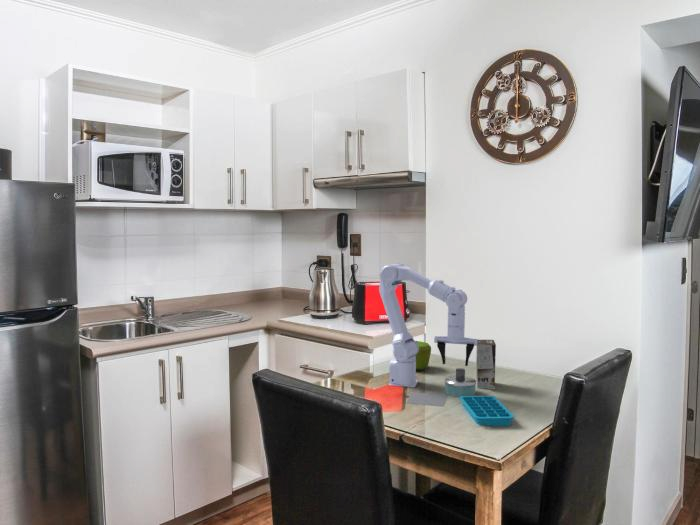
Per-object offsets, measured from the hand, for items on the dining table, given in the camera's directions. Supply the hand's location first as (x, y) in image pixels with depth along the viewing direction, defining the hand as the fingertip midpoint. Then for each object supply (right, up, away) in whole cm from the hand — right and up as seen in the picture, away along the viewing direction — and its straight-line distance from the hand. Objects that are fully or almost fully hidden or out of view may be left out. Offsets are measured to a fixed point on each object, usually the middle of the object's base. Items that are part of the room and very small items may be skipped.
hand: (455, 364), depth 187 cm
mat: (-11, -10, -8) cm, 17 cm away
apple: (-10, -8, +32) cm, 35 cm away
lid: (+1, -6, -2) cm, 6 cm away
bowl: (+2, -10, -1) cm, 10 cm away
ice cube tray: (+5, -12, -22) cm, 25 cm away
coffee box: (+13, -10, +8) cm, 18 cm away
